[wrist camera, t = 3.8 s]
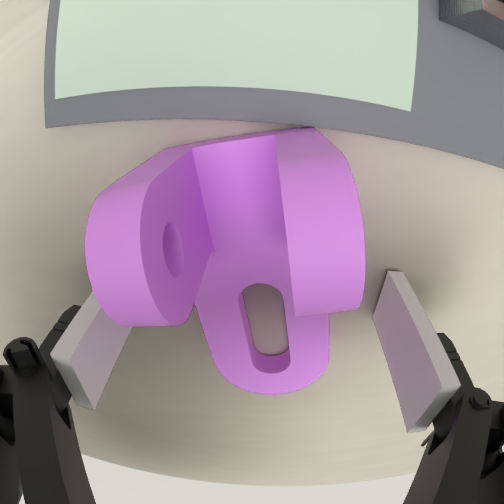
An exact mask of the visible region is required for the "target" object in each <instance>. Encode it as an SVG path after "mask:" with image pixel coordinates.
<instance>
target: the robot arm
mask: <svg viewBox="0 0 504 504" xmlns="http://www.w3.org/2000/svg"><path fill="white" fill-rule="evenodd" d="M372 319H373V322H374V324H375V327H376V330H377V333H378V336H379V339H380V342H381V345H382V348H383V351H384V354H385V357H386V360H387V363H388V367H389V370H390V373H391V376H392V380H393V383H394V386H395V390H396V393H397V397H398V400H399V403H400V407H401V411H402V414H403V418H404V422H405V425H406V429H407V433H412V432H419V431H425V430H426V429H427V427H428V426H429V425H430V424H431V423H432V422H433V426H434V430H433V432H432V433H431V434H430V435H429V436H428V437H427V438H426V439H425V440H424V441H423V443H422V445H421V446H424V445H425V444H426V443H427V442H428V443H427V446H426V449H425V452H424V454H423V457H422V460H421V462H420V465H419V468H418V470H417V473H416V475H415V478H414V480H413V482H412V485H411V487H410V489H409V492H408V494H407V496H406V498H405V500H404V503H403V504H504V452H503V451H502V446H503V445H504V402H498V401H492V400H491V398H490V396H489V395H488V394H487V393H486V392H485V391H483V390H482V389H480V388H475V387H474V385H473V383H472V381H471V379H470V377H469V375H468V373H467V371H466V368H465V366H464V364H463V362H462V360H460V359H461V358H460V356H459V354H458V353H457V352H456V351H457V350H456V349H455V347H454V345H453V343H452V341H451V340H450V339H449V338H448V337H447V336H446V335H445V334H444V333H436V331H435V329H434V328H433V326H432V324H431V322H430V320H429V318H428V316H427V314H426V312H425V311H424V309H423V307H422V305H421V303H420V301H419V300H418V298H417V296H416V294H415V292H414V291H413V289H412V287H411V285H410V284H409V282H408V280H407V279H406V277H405V275H404V273H403V272H398V271H388V272H387V275H386V279H385V282H384V285H383V288H382V291H381V294H380V297H379V300H378V303H377V306H376V309H375V311H374V314H373V317H372ZM132 328H133V327H125V326H121V325H119V324H117V323H115V322H114V321H113V320H111V319H110V318H109V317H108V315H107V314H106V313H105V312H104V310H103V309H102V308H101V306H100V304H99V302H98V301H97V299H96V296H95V294H94V292H93V291H92V293H91V294H90V295H89V297H88V298H87V300H86V301H85V302H84V304H83V305H82V306H78V305H73V306H72V307H70V308H69V309H68V310H66V311H65V312H64V313H63V314H62V316H61V317H60V319H59V320H58V323H56V324H55V326H54V327H53V330H51V331H50V333H49V334H48V336H47V337H46V338H45V340H44V341H43V343H42V344H41V346H40V347H39V349H38V347H37V345H36V343H35V342H34V341H33V340H32V339H31V338H27V337H20V338H17V339H14V340H13V341H11V342H10V343H9V344H8V345H7V346H6V348H5V349H4V352H3V356H4V358H5V359H6V361H7V363H8V364H9V365H0V504H19V501H20V499H21V496H22V493H23V495H24V500H25V504H96V502H95V499H94V496H93V493H92V490H91V487H90V484H89V481H88V478H87V474H86V471H85V468H84V464H83V460H82V456H81V453H80V449H79V445H78V440H77V436H76V432H75V427H74V422H73V418H72V413H71V409H70V406H69V404H68V402H69V400H70V398H71V396H72V397H73V399H74V401H75V402H76V404H77V405H79V406H82V407H86V408H89V409H93V410H95V408H96V406H97V403H98V401H99V399H100V396H101V394H102V392H103V390H104V387H105V385H106V383H107V381H108V378H109V376H110V374H111V372H112V370H113V367H114V365H115V363H116V361H117V359H118V357H119V355H120V352H121V350H122V348H123V346H124V344H125V342H126V340H127V338H128V336H129V334H130V332H131V330H132Z"/></svg>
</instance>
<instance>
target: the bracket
mask: <svg viewBox="0 0 504 504" xmlns="http://www.w3.org/2000/svg"><path fill="white" fill-rule="evenodd" d="M85 258H86V265H87V271H88V276H89V280H90V283H91V286H92V289H93V292H94V294H95V296H96V299H97V301H98V302H99V304H100V306H101V308H102V309H103V310H104V312H105V313H106V314H107V315H108V317H109V318H110V319H111V320H113V321H114V322H115V323H117V324H119V325H121V326H125V327H143V326H173V325H181V324H183V323H184V322H185V321H186V320H187V319H188V317H189V316H190V314H191V311H192V308H193V305H194V303H195V306H196V309H197V312H198V316H199V319H200V322H201V325H202V328H203V331H204V334H205V337H206V340H207V343H208V345H209V348H210V351H211V354H212V357H213V360H214V363H215V365H216V368H217V369H218V371H219V373H220V374H221V375H222V376H223V377H224V378H225V379H226V380H227V381H228V382H230V383H231V384H233V385H235V386H237V387H239V388H241V389H243V390H246V391H250V392H254V393H259V394H284V393H289V392H293V391H296V390H299V389H302V388H304V387H306V386H308V385H310V384H311V383H313V382H314V381H315V380H317V379H318V378H319V377H320V376H321V375H322V373H323V372H324V371H325V369H326V367H327V365H328V361H329V313H333V312H342V311H349V310H357V309H358V308H359V306H360V304H361V301H362V298H363V293H364V285H365V240H364V229H363V221H362V214H361V208H360V202H359V197H358V193H357V189H356V185H355V181H354V178H353V175H352V172H351V169H350V166H349V164H348V162H347V160H346V158H345V156H344V155H343V153H342V152H341V151H340V150H339V149H337V148H336V147H335V146H334V145H333V144H332V143H331V142H330V141H329V140H328V139H327V138H325V137H324V136H323V135H322V134H321V133H320V132H319V131H318V130H317V129H315V128H314V127H300V128H290V129H282V130H273V131H265V132H258V133H251V134H244V135H237V136H231V137H225V138H219V139H213V140H207V141H202V142H197V143H191V144H186V145H181V146H176V147H172V148H167V149H164V150H162V151H161V152H159V153H157V154H156V155H154V156H153V157H151V158H150V159H148V160H147V161H145V162H144V163H142V164H141V165H139V166H138V167H136V168H135V169H133V170H132V171H130V172H129V173H127V174H126V175H124V176H123V177H121V178H120V179H119V180H117V181H116V182H114V183H113V184H111V185H110V186H109V187H107V188H106V189H105V190H103V191H102V192H101V193H100V194H99V196H98V197H97V198H96V200H95V202H94V204H93V206H92V208H91V211H90V213H89V217H88V221H87V226H86V234H85ZM257 283H264V284H269V285H271V286H274V287H275V288H277V289H278V290H279V291H280V292H281V294H282V296H283V300H284V308H285V316H286V325H287V333H288V341H289V348H288V349H287V350H286V351H285V352H284V353H282V354H280V355H276V356H267V355H263V354H261V353H259V352H258V351H257V350H256V349H255V348H254V345H253V340H252V336H251V331H250V326H249V322H248V317H247V312H246V308H245V303H244V298H243V294H242V290H243V289H244V288H246V287H247V286H249V285H252V284H257Z"/></svg>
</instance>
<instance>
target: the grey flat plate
mask: <svg viewBox="0 0 504 504" xmlns="http://www.w3.org/2000/svg"><path fill="white" fill-rule="evenodd" d="M499 1H500V2H502V3H504V0H499ZM44 102H45V126H46V128H52V127H60V126H68V125H77V124H87V123H99V122H112V121H128V120H153V119H214V120H239V121H255V122H269V123H281V124H291V125H301V126H310V127H318V128H326V129H333V130H340V131H347V132H353V133H359V134H365V135H371V136H377V137H382V138H387V139H392V140H397V141H402V142H407V143H412V144H416V145H420V146H425V147H429V148H433V149H437V150H441V151H445V152H449V153H453V154H456V155H460V156H464V157H467V158H471V159H474V160H478V161H481V162H484V163H487V164H491V165H494V166H497V167H500V168H503V169H504V50H502V49H500V48H498V47H497V46H495V45H493V44H491V43H489V42H487V41H485V40H483V39H481V38H479V37H477V36H474V35H472V34H470V33H468V32H466V31H463V30H461V29H459V28H457V27H454V26H452V25H449V24H447V23H444V22H442V21H439V0H50V5H49V13H48V22H47V32H46V46H45V69H44Z"/></svg>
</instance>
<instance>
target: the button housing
mask: <svg viewBox="0 0 504 504" xmlns="http://www.w3.org/2000/svg"><path fill="white" fill-rule="evenodd" d="M439 21H442V22H444V23H447V24H449V25H452V26H454V27H457V28H459V29H461V30H463V31H466V32H468V33H470V34H472V35H474V36H477V37H479V38H481V39H483V40H485V41H487V42H489V43H491V44H493V45H495V46H497V47H498V48H500V49H502V50H504V3H502V2H500V1H499V0H439Z"/></svg>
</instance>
